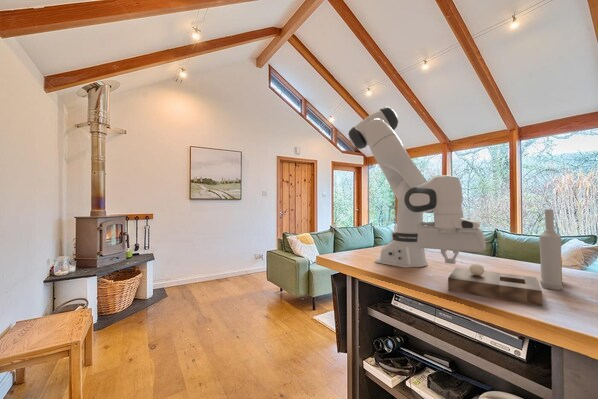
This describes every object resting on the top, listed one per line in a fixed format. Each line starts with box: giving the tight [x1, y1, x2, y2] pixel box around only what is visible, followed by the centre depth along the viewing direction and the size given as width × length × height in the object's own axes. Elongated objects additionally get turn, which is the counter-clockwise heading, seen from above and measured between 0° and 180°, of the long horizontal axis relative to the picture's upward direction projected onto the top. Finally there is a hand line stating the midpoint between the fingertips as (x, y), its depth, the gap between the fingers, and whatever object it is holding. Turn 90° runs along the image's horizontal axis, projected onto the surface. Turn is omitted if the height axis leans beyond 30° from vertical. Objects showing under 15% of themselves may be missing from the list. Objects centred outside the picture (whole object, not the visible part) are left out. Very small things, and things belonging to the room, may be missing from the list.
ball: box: [468, 262, 485, 276], centre depth 87 cm, size 4×4×4 cm
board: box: [447, 267, 543, 307], centre depth 84 cm, size 22×16×4 cm
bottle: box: [538, 209, 563, 291], centre depth 86 cm, size 5×5×25 cm
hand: (450, 263), depth 91 cm, fingers closed
